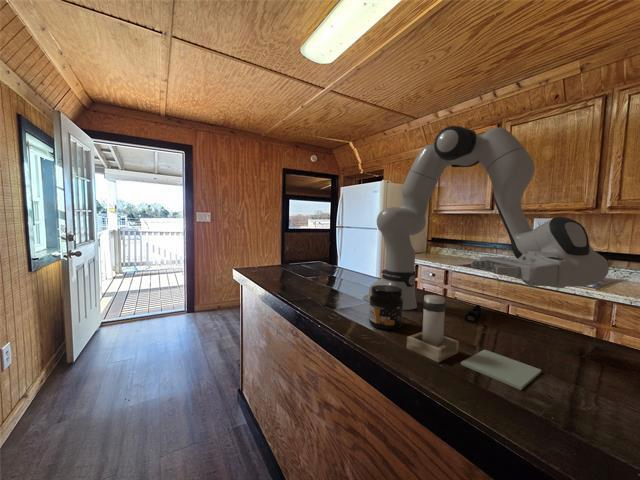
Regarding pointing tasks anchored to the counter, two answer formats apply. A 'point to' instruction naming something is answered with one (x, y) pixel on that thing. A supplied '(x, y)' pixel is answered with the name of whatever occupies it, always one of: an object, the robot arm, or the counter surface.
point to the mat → (502, 368)
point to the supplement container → (386, 307)
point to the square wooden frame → (432, 347)
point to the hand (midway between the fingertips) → (483, 267)
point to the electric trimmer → (473, 314)
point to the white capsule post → (433, 320)
